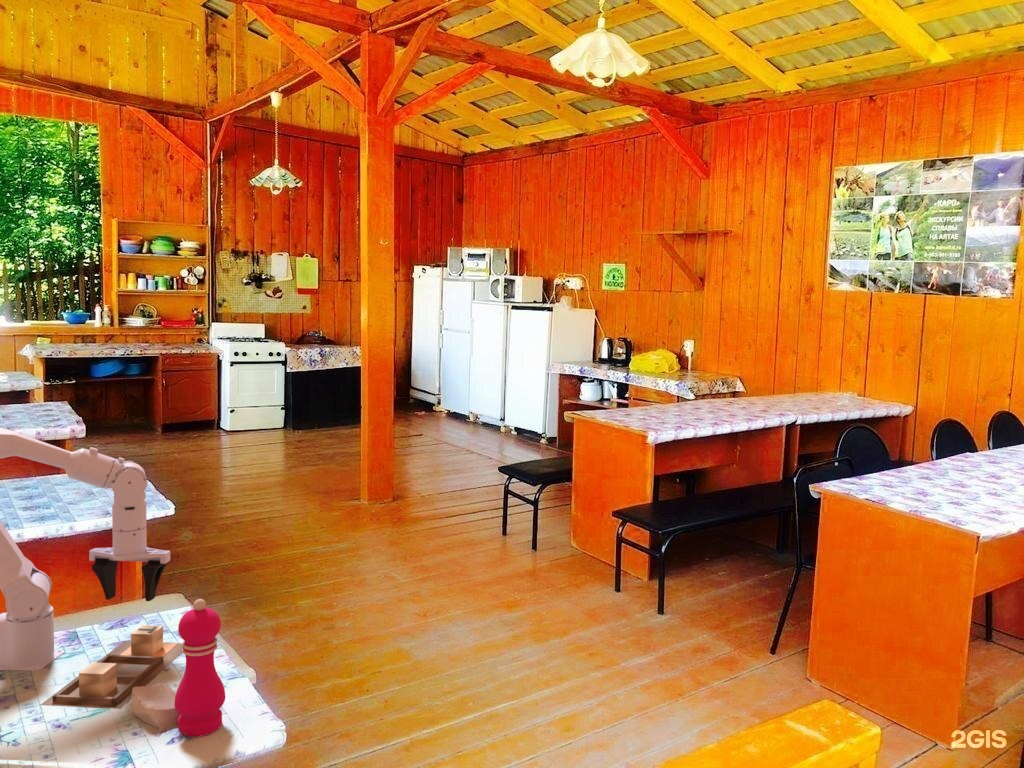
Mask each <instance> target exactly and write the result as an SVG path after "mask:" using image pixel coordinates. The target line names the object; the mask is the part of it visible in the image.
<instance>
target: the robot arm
mask: <svg viewBox="0 0 1024 768" xmlns="http://www.w3.org/2000/svg"><path fill="white" fill-rule="evenodd" d="M98 451H99V450H98V448H95V447H91V446H90V447H89V449H87V448H79V449H77V450H75V451H69V450H67V449H63V448H62V447H58V446H57V445H53V444H50V443H48V442H45V441H42V440H40V439H37V438H33V437H30V436H27V435H25V434H22V433H20V432H17V431H14V430H10V429H7V428H3V427H0V460H1V459H5V458H9V457H19V458H22V459H27V460H31V461H34V462H38V463H40V464H45V465H48V466H53V467H56V468H60V469H63V470H64V471H65V473H66V475H67V477H68V479H71V480H74V481H77V482H81V483H84V484H88V485H91V486H94V487H98V488H101V489H104V490H106V489H107V490H108V489H111V490H112V492H113V503H112V505H111V507H112V508H111V509H112V510H111V511H112V512H111V515H112V516H111V517H112V522H111V523H112V524H111V525H112V530H111V531H112V547H95V548H92V549H90V550H88V553H89V554H88V558H89V559H88V560H89V562H94V564H92V565H91V570H92V571H93V573H94V574H95V576H96V577H97V579H98V581H99V582H100V585H101V588H102V589H103V593H104V597H105V600H108V601H109V600H111V599H113V598H114V597H116V593H117V584H116V583H117V577H116V576H117V570H118V569H117V568H118V563H119V562H138V563H139V562H144V563H145V562H146V563H145V564H144V565H143V566H141V571H142V575H143V578H144V579H143V581H144V591H145V592H144V594H145V595H144V597H145V601H146V602H151V601H152V600H154V599H155V598H156V593H157V588H158V585H159V583H160V582H159V581H160V579H161V576H162V575H163V572H164V570H165V568H166V567H167V565H168V563H169V562H170V561H171V550H166V549H165V550H164V549H157V548H154V547H153V548H151V547H148V545H147V541H148V539H147V536H148V535H147V522H148V521H147V502H146V501H145V500H146V497H147V496H146V492H145V491H146V489H147V486H148V483H149V482H148V479H147V475H146V472H145V469H144V468H143V467H142V466H141V465H139V464H138V463H136V462H134V460H126V461H125V458H123V457H120V456H119V457H118V458H115V457H112V456H109V455H105V454H102V453H99V452H98ZM0 590H1V592H2V594H3V595H4V599H5V608H6V612H1V613H0V671H3V672H5V671H7V670H10V671H11V670H14V671H30V672H31V671H33V672H34V671H36V672H37V671H40V670H42V669H43V668H44V667H46V666H48V664H50V663H52V662H53V661H55V660H56V659H58V658H59V657H61V656H63V655H64V654H65V653H66V651H65V650H58V649H57V650H55V632H54V631H55V630H54V629H55V627H54V624H55V623H54V622H55V621H54V607H53V606H52V605H51V603H49V595H50V594H51V591H52V580H51V578H50V576H49V575H48V574H46V573H45V572H44V571H42V570H40V569H38V568H37V567H36V566H35V565H34V563H33V562H32V561H31V560H29V558H27V557H26V556H25V555H24V554H23V552H22V550H20V548H19V546H18V545H17V543H16V542H15V540H14V539H13V537H12V535H11V534H10V532H9V530H8V529H6V527H5V525H4V523H3V522H2V520H0Z"/></svg>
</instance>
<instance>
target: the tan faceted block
mask: <svg viewBox="0 0 1024 768" xmlns="http://www.w3.org/2000/svg"><path fill="white" fill-rule="evenodd" d="M176 692H177V691H175V690H174V689H172V688H171V687H170V685H168V684H166V683H165V684H154V685H146V686H141V687H134V688H133V690H132V697H131V703H130V711H131V713H132V715H133V716H135V717H137V718H138V719H140V720H141V721H142V722H145V723H146V724H149V725H151V726H153V727H155V728H158V729H164V728H167V727H170V726H172V725H175V724H178V718H179V716H180V714H179V713H178V712H177V711H176V709H175V706H174V703H175V695H176Z"/></svg>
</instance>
